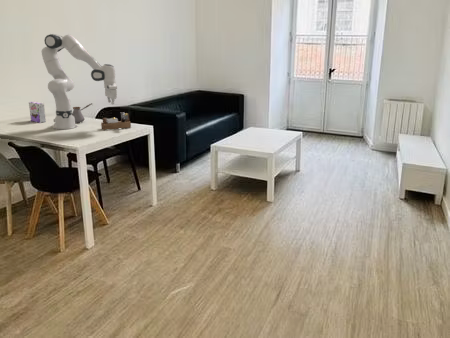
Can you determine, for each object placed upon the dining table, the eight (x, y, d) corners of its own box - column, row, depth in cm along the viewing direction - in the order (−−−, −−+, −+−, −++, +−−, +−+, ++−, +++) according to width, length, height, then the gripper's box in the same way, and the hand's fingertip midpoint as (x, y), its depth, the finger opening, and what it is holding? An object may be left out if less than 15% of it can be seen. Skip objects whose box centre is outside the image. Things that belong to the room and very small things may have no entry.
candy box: (30, 120, 352) (28, 101, 346) (37, 119, 356) (34, 101, 351) (39, 123, 344) (37, 103, 339) (46, 122, 349) (44, 102, 344)
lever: (124, 124, 323) (124, 113, 320) (120, 121, 333) (120, 111, 331) (128, 123, 324) (128, 113, 322) (124, 120, 335) (124, 110, 332)
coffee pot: (75, 124, 343) (73, 106, 339) (68, 122, 350) (66, 104, 346) (97, 120, 358) (96, 103, 354) (90, 119, 366) (89, 102, 361)
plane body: (101, 128, 329) (100, 115, 325) (128, 126, 340) (127, 113, 336) (103, 130, 323) (102, 116, 320) (130, 128, 334) (130, 114, 330)
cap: (106, 122, 328) (106, 118, 327) (116, 121, 332) (116, 117, 331) (108, 123, 325) (107, 119, 324) (117, 122, 329) (117, 118, 328)
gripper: (102, 84, 326) (103, 101, 331) (109, 87, 310) (110, 105, 314) (110, 84, 329) (111, 101, 334) (117, 86, 313) (118, 104, 317)
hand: (111, 103), depth 324 cm, fingers open, 8 cm apart
